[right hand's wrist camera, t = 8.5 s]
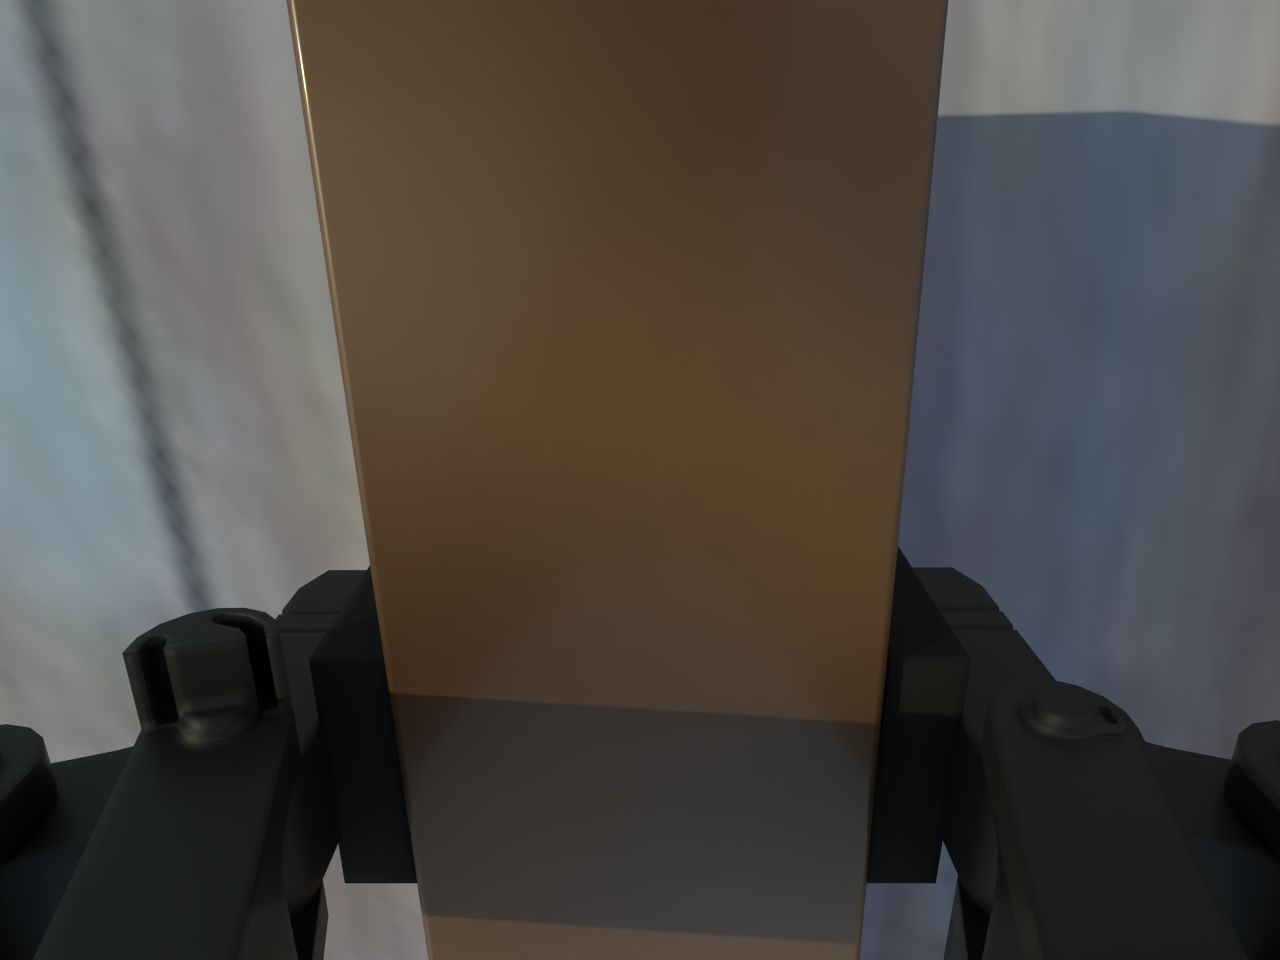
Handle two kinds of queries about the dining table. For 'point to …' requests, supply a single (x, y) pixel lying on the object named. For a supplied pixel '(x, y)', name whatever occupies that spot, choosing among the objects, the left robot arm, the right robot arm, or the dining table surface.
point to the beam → (629, 446)
